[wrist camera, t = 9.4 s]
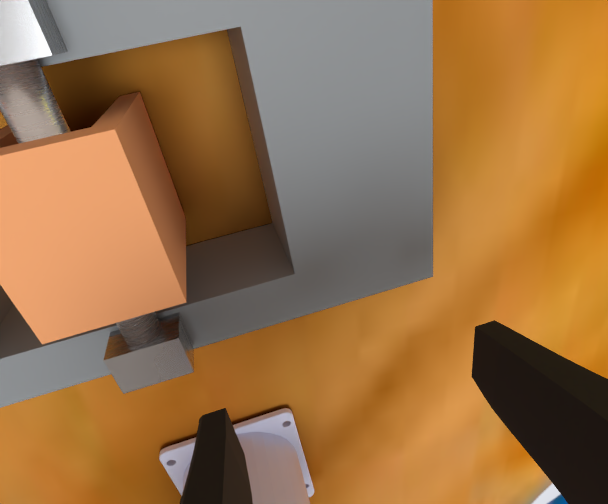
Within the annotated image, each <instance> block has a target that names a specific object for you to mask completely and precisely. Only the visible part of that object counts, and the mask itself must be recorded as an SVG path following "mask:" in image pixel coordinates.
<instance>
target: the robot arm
mask: <svg viewBox="0 0 608 504" xmlns="http://www.w3.org/2000/svg"><path fill="white" fill-rule="evenodd" d="M472 378H473V379H474V381H475V382H476V384H477V386H478V387H479V389H480V390H481V392H482V394H483V395H484V397H485V398H486V400H487V401H488V403H489V404H490V406H491V407H492V409H493V410H494V411H495V413H496V414H497V415H498V416H499V418H500V419H501V420H502V421H503V423H504V424H505V425H506V426H507V428H508V429H509V430H510V431H511V433H512V434H513V435H514V436H515V437H516V439H517V440H518V441H519V442H520V444H521V445H522V446H523V447H524V448H525V450H526V451H527V452H528V453H529V455H530V456H531V457H532V458H533V459H534V461H535V462H536V463H537V464H538V465H539V467H540V468H541V469H542V470H543V472H544V473H545V474H546V475H547V476H548V478H549V479H550V480H551V481H552V483H553V484H554V485H555V487H556V488H557V489H558V491H559V492H560V493H561V494H562V496H563V497H564V498H565V500H566V501H567V503H568V504H608V379H606V378H604V377H602V376H600V375H598V374H596V373H594V372H592V371H590V370H588V369H586V368H584V367H582V366H580V365H578V364H576V363H574V362H572V361H570V360H568V359H566V358H564V357H562V356H560V355H558V354H556V353H554V352H553V351H551V350H549V349H547V348H545V347H543V346H541V345H539V344H538V343H536V342H534V341H532V340H530V339H528V338H526V337H525V336H523V335H521V334H519V333H517V332H515V331H514V330H512V329H510V328H508V327H506V326H504V325H502V324H500V323H498V322H497V321H492V322H488V323H485V324H482V325H479V326H476V327H475V337H474V352H473V366H472ZM159 459H160V461H161V463H162V465H163V466H164V468H165V469H166V471H167V473H168V474H169V476H170V478H171V479H172V481H173V483H174V484H175V486H176V488H177V489H178V491H179V492H180V494H181V496H182V497H181V501H180V504H310V501H309V497H311V496H312V495H313V494H314V488H313V484H312V481H311V477H310V474H309V470H308V467H307V463H306V459H305V456H304V452H303V449H302V445H301V442H300V438H299V435H298V431H297V428H296V424H295V421H294V417H293V414H292V411H291V410H290V409H288V408H283V409H280V410H277V411H274V412H271V413H268V414H265V415H262V416H259V417H256V418H253V419H249V420H246V421H243V422H240V423H237V424H234V425H232V423H231V420H230V418H229V415H228V413H227V410H226V408H224V409H221V410H218V411H215V412H212V413H208V414H205V415H202V417H201V418H200V420H199V425H198V431H197V436H196V437H195V438H192V439H189V440H186V441H183V442H180V443H177V444H174V445H171V446H168V447H165V448H163V449H162V450H161V451H160V453H159Z"/></svg>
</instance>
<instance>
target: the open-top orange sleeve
mask: <svg viewBox="0 0 608 504" xmlns="http://www.w3.org/2000/svg"><path fill="white" fill-rule="evenodd" d="M0 285H1V286H2V288H3V289H4V291H5V292H6V293H7V295H8V296H9V298H10V299H11V301H12V302H13V303H14V305H15V306H16V308H17V309H18V311H19V312H20V313H21V315H22V316H23V318H24V319H25V321H26V322H27V323H28V325H29V326H30V328H31V329H32V331H33V332H34V333H35V335H36V336H37V338H38V339H39V341H40V342H41V343H42V344H45V343H49V342H52V341H56V340H59V339H62V338H66V337H69V336H73V335H76V334H80V333H83V332H86V331H90V330H93V329H97V328H100V327H104V326H107V325H111V324H114V323H117V322H121V321H124V320H128V319H131V318H135V317H138V316H141V315H145V314H148V313H152V312H155V311H159V310H162V309H165V308H169V307H172V306H176V305H179V304H183V303H186V217H185V215H184V212H183V209H182V206H181V204H180V201H179V198H178V195H177V193H176V190H175V187H174V184H173V182H172V179H171V176H170V173H169V171H168V168H167V165H166V162H165V160H164V157H163V154H162V151H161V149H160V146H159V143H158V140H157V138H156V135H155V132H154V130H153V127H152V124H151V121H150V119H149V116H148V113H147V110H146V108H145V105H144V102H143V99H142V97H141V94H140V92H136V93H132V94H127V95H123V96H119V97H118V98H117V99H116V101H115V102H114V103H113V104H112V105H111V106H110V107H109V108H108V109H107V111H106V112H105V113H104V114H103V115H102V116H101V117H100V118H99V119H98V120H97V122H96V123H95V124H94V125H93V126H92V127H90V128H85V129H81V130H76V131H72V132H68V133H63V134H59V135H55V136H50V137H46V138H41V139H37V140H33V141H28V142H24V143H20V144H18V142H17V140H16V138H15V137H14V135H13V133H12V131H11V129H10V127H9V126H8V125H7V126H5V127H4V128H2V129H0Z"/></svg>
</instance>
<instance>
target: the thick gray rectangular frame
mask: <svg viewBox="0 0 608 504" xmlns="http://www.w3.org/2000/svg"><path fill="white" fill-rule="evenodd" d="M226 29H227V32H228V36H229V41H230V45H231V49H232V53H233V58H234V62H235V66H236V70H237V75H238V79H239V83H240V87H241V92H242V96H243V100H244V104H245V109H246V113H247V117H248V121H249V126H250V130H251V134H252V138H253V143H254V147H255V151H256V155H257V160H258V164H259V168H260V172H261V177H262V181H263V185H264V189H265V194H266V198H267V202H268V206H269V211H270V215H271V219H272V223H271V224H267V225H263V226H259V227H256V228H252V229H248V230H245V231H241V232H237V233H233V234H230V235H226V236H222V237H218V238H215V239H211V240H207V241H204V242H200V243H196V244H192V245H189V246H186V303H183V304H179V305H176V306H172V307H169V308H165V309H162V310H159V311H155V312H152V313H148V314H145V315H141V316H138V317H135V318H131V319H128V320H124V321H121V322H117V323H114V324H111V325H107V326H104V327H100V328H97V329H93V330H90V331H86V332H83V333H80V334H76V335H73V336H69V337H66V338H62V339H59V340H56V341H52V342H49V343H45V344H42V343H41V342H40V341H39V339H38V338H37V336H36V335H35V333H34V332H33V331H32V329H31V328H30V326H29V325H28V323H27V322H26V321H25V319H24V318H23V316H22V315H21V313H20V312H19V311H18V309H17V308H16V306H15V305H14V303H13V302H12V301H11V299H10V298H9V296H8V295H7V293H6V292H5V291H4V289H3V288H2V286H1V285H0V408H1V407H4V406H7V405H10V404H14V403H17V402H20V401H24V400H27V399H30V398H34V397H37V396H40V395H44V394H47V393H50V392H53V391H57V390H60V389H63V388H67V387H70V386H73V385H77V384H80V383H83V382H86V381H90V380H93V379H96V378H100V377H103V376H106V375H110V374H112V376H113V377H114V379H115V381H116V382H117V384H118V386H119V387H120V389H121V391H122V392H123V394H124V393H128V392H131V391H134V390H137V389H141V388H144V387H147V386H150V385H153V384H157V383H160V382H163V381H166V380H170V379H173V378H176V377H179V376H182V375H186V374H189V373H192V372H194V354H193V349H195V348H199V347H202V346H205V345H209V344H212V343H215V342H219V341H222V340H225V339H228V338H232V337H235V336H238V335H242V334H245V333H248V332H252V331H255V330H258V329H261V328H265V327H268V326H271V325H275V324H278V323H281V322H285V321H288V320H291V319H295V318H298V317H301V316H304V315H308V314H311V313H314V312H318V311H321V310H324V309H328V308H331V307H334V306H337V305H341V304H344V303H347V302H351V301H354V300H357V299H361V298H364V297H367V296H370V295H374V294H377V293H380V292H384V291H387V290H390V289H394V288H397V287H400V286H403V285H407V284H410V283H413V282H417V281H420V280H423V279H427V278H430V277H433V13H432V0H0V111H1V113H2V115H3V116H4V118H5V120H6V122H7V124H8V126H9V127H10V129H11V131H12V133H13V135H14V137H15V138H16V140H17V142H18V144H20V143H24V142H28V141H33V140H37V139H41V138H46V137H50V136H55V135H59V134H63V133H68V132H71V131H70V129H69V127H68V125H67V122H66V120H65V118H64V116H63V114H62V112H61V110H60V107H59V105H58V103H57V101H56V99H55V97H54V95H53V92H52V90H51V88H50V86H49V84H48V82H47V80H46V77H45V75H44V73H43V71H42V69H41V67H43V66H48V65H53V64H58V63H63V62H67V61H72V60H77V59H82V58H87V57H92V56H97V55H102V54H107V53H112V52H117V51H122V50H127V49H132V48H137V47H142V46H147V45H152V44H157V43H162V42H167V41H171V40H176V39H181V38H186V37H191V36H196V35H201V34H206V33H211V32H216V31H221V30H226Z"/></svg>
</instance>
